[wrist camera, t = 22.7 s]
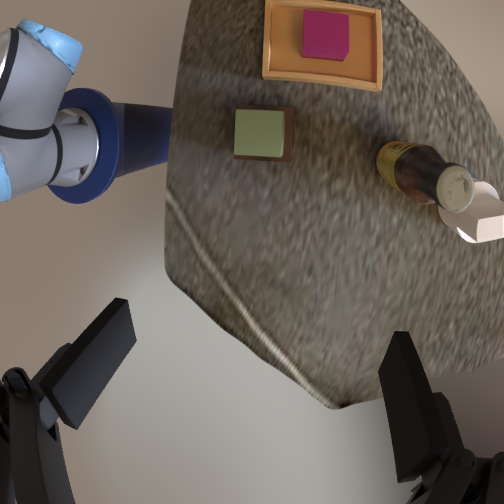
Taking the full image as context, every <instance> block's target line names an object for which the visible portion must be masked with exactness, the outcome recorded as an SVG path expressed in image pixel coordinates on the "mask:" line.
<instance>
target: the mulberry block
mask: <svg viewBox="0 0 504 504" xmlns="http://www.w3.org/2000/svg"><path fill="white" fill-rule="evenodd" d="M348 53H349V15H348V14H342V13H335V12H327V11H318V10H306V9H304V10H303V51H302V57H304V58H315V59H324V60H332V61H340V62H343V61H344V59H345V58H346V56H347V55H348Z"/></svg>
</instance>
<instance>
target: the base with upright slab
mask: <svg viewBox="0 0 504 504" xmlns="http://www.w3.org/2000/svg"><path fill="white" fill-rule="evenodd" d="M472 179H473V182H474V188H475V189H474V196H473V199H472V201H471V203H470V205H469V206H468V207H467V208H465V209H464V210H463V211H461V212H458V213H453V212H448V211H447V210H445V209H443V208H441V207H440V206H438V212H439V215H440V217H441V219H442V221H443V222H444V223H445V224H446V225H447V226H448V227H449V228H451V229H452V230H453V231H455V232H456V233H457V234H459V235H460V236H461V237H462V238H464V239H465V240H466V241H468V242H471V243H481V242H485V241H490V240H495V239H500V238H504V202H503V201H501V200H499V196H498V194H497V192H496V190H495V189H494V188H493V187H492V186H491V185H490V184H488V183H486V182H484V181H481V180H478V179H476V178H473V177H472Z"/></svg>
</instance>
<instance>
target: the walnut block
mask: <svg viewBox="0 0 504 504" xmlns="http://www.w3.org/2000/svg"><path fill="white" fill-rule="evenodd" d="M236 109H243V110H271V111H283V112H284V113H285V131H284V148H283V155H282V156H281V157H268V156H251V155H234V159H242V160H260V161H275V162H287V163H291V160H292V146H293V130H294V111H295V110H294V107H288V106H271V105H236Z"/></svg>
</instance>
